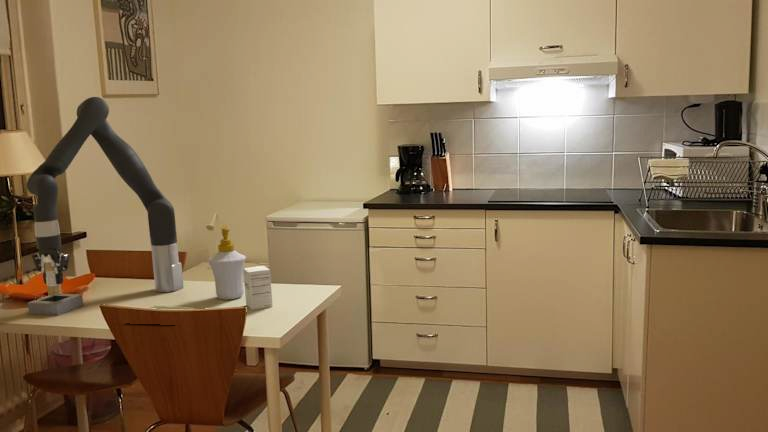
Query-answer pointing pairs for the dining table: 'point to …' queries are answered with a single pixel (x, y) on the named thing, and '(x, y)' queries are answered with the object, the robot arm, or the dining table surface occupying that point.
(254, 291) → the supplement box
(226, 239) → the soap bottle
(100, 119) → the robot arm
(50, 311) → the shallow gray tray
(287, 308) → the dining table surface
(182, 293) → the dining table surface
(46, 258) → the sprinkles bottle
